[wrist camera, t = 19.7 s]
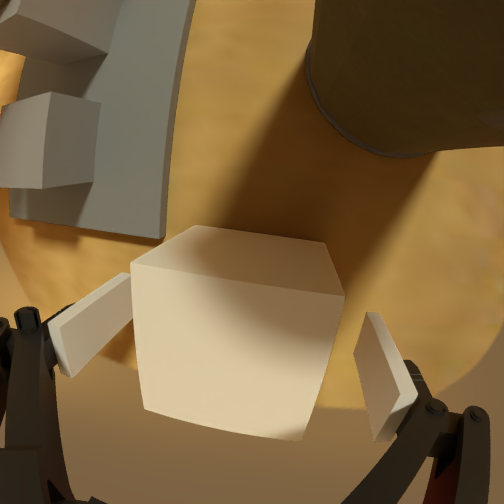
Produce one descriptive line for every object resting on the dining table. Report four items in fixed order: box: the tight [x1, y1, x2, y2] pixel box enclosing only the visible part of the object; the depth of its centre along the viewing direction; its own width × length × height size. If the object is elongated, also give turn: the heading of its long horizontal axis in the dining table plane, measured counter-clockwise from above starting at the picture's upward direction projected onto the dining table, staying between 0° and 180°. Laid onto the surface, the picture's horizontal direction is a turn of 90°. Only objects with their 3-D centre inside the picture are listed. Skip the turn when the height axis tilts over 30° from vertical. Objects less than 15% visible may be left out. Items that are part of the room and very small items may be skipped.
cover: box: [130, 225, 346, 442], centre depth 15 cm, size 8×8×8 cm
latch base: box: [0, 0, 196, 239], centre depth 12 cm, size 20×16×10 cm
